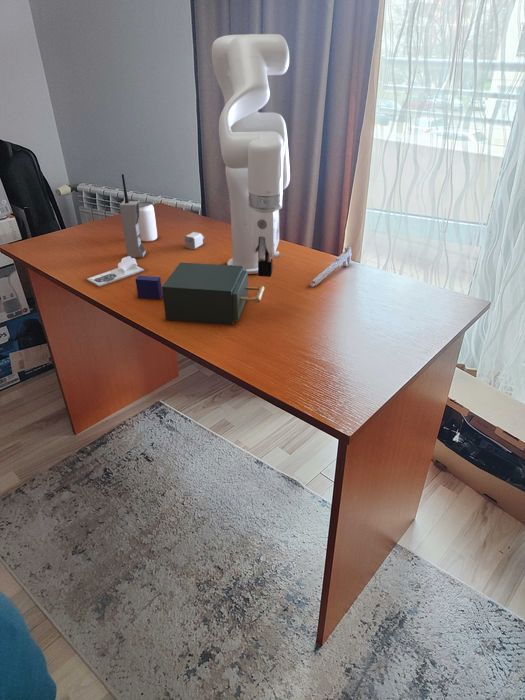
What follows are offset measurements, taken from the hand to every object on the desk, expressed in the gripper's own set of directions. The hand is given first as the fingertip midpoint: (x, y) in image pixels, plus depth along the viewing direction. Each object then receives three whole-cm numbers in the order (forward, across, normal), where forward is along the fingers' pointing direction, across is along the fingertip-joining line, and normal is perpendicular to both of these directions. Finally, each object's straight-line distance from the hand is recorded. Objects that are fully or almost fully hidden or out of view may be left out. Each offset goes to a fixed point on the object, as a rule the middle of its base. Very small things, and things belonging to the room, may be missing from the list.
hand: (265, 274), depth 121 cm
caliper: (+11, +24, -16) cm, 31 cm away
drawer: (+9, -1, +11) cm, 14 cm away
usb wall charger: (+12, +42, +29) cm, 53 cm away
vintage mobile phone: (+12, +30, +46) cm, 56 cm away
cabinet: (+10, -1, +15) cm, 18 cm away
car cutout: (+11, +15, +46) cm, 50 cm away
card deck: (+10, +3, +32) cm, 33 cm away
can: (+12, +45, +48) cm, 67 cm away
